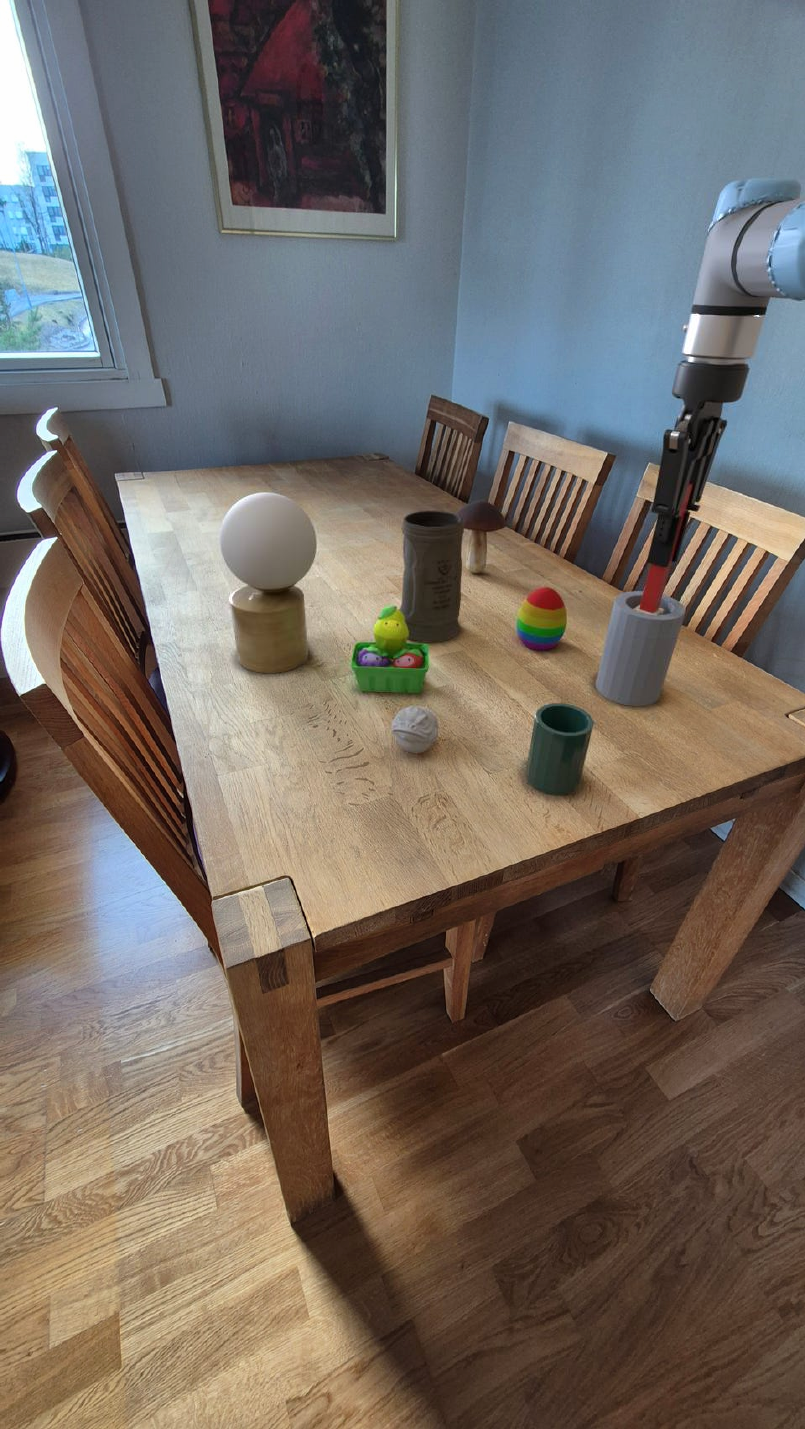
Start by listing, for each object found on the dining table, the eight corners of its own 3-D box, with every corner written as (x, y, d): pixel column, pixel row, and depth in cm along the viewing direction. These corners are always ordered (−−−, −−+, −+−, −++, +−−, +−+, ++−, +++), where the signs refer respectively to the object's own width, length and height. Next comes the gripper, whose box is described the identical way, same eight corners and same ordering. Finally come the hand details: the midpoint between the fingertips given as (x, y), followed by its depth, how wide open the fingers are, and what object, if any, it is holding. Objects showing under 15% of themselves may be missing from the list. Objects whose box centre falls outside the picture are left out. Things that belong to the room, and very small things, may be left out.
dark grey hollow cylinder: (474, 634, 109) (479, 517, 99) (424, 650, 104) (424, 529, 93) (422, 608, 120) (422, 500, 109) (375, 621, 115) (370, 509, 104)
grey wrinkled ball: (382, 760, 80) (383, 715, 76) (401, 730, 85) (402, 687, 81) (428, 771, 78) (430, 726, 74) (444, 740, 84) (447, 696, 80)
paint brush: (655, 641, 90) (699, 484, 78) (645, 648, 89) (689, 488, 76) (635, 633, 92) (674, 479, 80) (625, 640, 90) (663, 483, 78)
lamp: (260, 624, 111) (242, 478, 96) (335, 635, 108) (328, 486, 93) (216, 665, 99) (189, 505, 84) (299, 679, 96) (285, 516, 81)
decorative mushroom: (510, 571, 133) (518, 500, 125) (481, 587, 126) (489, 512, 117) (467, 559, 139) (473, 490, 130) (438, 573, 132) (442, 501, 123)
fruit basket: (350, 696, 92) (348, 627, 86) (356, 665, 100) (355, 600, 93) (427, 699, 92) (431, 630, 86) (428, 668, 99) (431, 602, 93)
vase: (670, 689, 96) (696, 604, 88) (642, 714, 90) (667, 626, 82) (613, 667, 101) (633, 585, 93) (584, 689, 95) (602, 604, 87)
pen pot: (589, 777, 78) (603, 718, 73) (561, 803, 74) (574, 743, 69) (544, 754, 82) (555, 696, 77) (515, 777, 78) (524, 718, 73)
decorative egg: (507, 647, 106) (514, 591, 100) (522, 627, 112) (530, 574, 106) (554, 658, 103) (565, 602, 97) (567, 638, 109) (578, 584, 103)
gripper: (707, 354, 77) (659, 541, 90) (653, 361, 68) (609, 568, 81) (771, 359, 73) (711, 554, 86) (723, 367, 64) (664, 585, 77)
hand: (661, 561), depth 84 cm, fingers closed on paint brush, 2 cm apart
